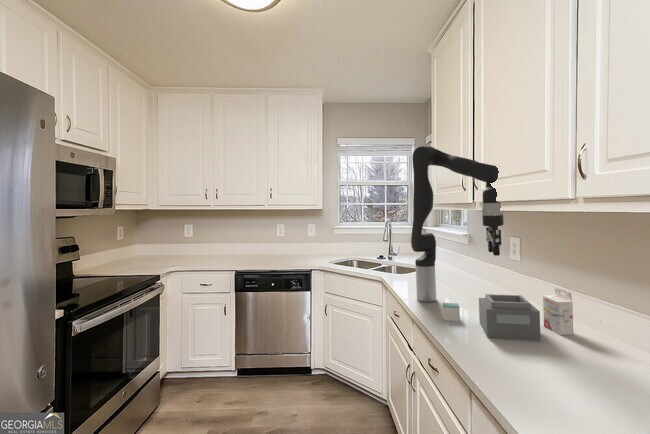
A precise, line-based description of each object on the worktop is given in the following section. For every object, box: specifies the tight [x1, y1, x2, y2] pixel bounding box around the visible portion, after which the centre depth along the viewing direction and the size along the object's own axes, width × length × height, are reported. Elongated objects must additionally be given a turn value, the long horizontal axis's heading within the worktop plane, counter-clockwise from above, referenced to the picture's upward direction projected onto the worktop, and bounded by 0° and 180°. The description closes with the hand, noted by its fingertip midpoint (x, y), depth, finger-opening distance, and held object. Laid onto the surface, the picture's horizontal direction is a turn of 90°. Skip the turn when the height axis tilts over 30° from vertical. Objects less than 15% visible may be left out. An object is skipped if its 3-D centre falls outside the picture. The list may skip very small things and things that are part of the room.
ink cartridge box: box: [542, 287, 574, 336], centre depth 111 cm, size 9×5×15 cm, turn 179°
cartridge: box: [442, 302, 461, 321], centre depth 127 cm, size 4×6×6 cm, turn 73°
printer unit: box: [478, 293, 542, 342], centre depth 112 cm, size 15×16×12 cm
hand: (493, 253), depth 127 cm, fingers open, 8 cm apart
